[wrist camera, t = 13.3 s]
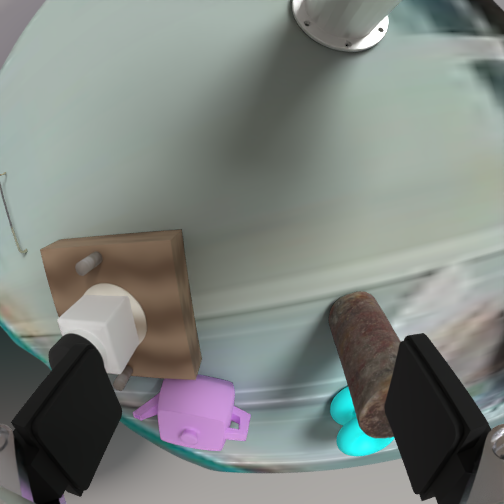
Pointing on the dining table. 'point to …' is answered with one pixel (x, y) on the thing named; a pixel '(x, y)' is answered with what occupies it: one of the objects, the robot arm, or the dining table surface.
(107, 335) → the medicine bottle
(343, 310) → the brown rusty cylinder
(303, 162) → the dining table surface
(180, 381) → the teapot
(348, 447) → the donuts
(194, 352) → the stand
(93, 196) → the dining table surface
